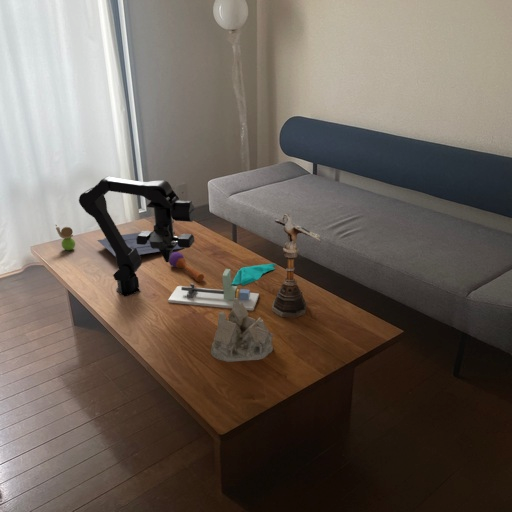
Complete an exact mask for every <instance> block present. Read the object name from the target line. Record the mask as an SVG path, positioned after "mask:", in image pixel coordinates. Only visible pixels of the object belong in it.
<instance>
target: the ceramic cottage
mask: <svg viewBox="0 0 512 512" xmlns="http://www.w3.org/2000/svg"><path fill="white" fill-rule="evenodd" d="M227 318H228V320H227ZM273 338H274V333H272V332H271V331H270V332H269V329H268V327H267V326H266V324H265V323H264V319H262V318H261V317H258V318H257V320H256V318H253V317H250V316H249V312H248V310H246V309H245V307H244V305H243V303H241V304H239V301H238V298H234V302H233V309H232V308H231V311H230V312H229V314H228V316H227V315H226V313H225V311H220V312H219V313H218V319H217V328H216V331H215V333H214V337H213V339H212V340H213V342H212V344H211V348H210V354H211V356H212V357H213V358H215V359H216V360H219V361H223V362H228V363H231V362H232V363H233V362H244V361H245V362H246V361H257V360H258V361H259V360H262V359H265V358H267V357H268V355H269V354H271V353H272V352H273V350H274V348H273V344H272V342H273V341H272V340H273Z"/></svg>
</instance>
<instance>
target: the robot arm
mask: <svg viewBox="0 0 512 512" xmlns="http://www.w3.org/2000/svg"><path fill="white" fill-rule="evenodd" d="M108 192H115V193H121V194H128V195H133V196H140V197H143V198H145V199H146V200H147V201H150V202H149V203H148V204H147V205H146V208H153V214H154V224H153V230H152V231H153V232H152V231H150V230H142V231H141V232H139V233H140V234H139V235H138V236H137V238H136V241H137V244H141V245H145V244H146V243H147V240H149V242H150V245H151V248H153V249H155V248H157V249H159V250H160V251H159V252H160V254H161V255H162V257H163V260H164V262H165V263H169V260H170V257H171V254H172V253H173V248H174V247H175V246H176V245H177V244H178V246H179V247H182V248H181V249H185V248H186V249H188V248H191V246H192V245H193V244H194V242H195V236H194V235H193V234H191V233H182V234H180V236H177V235H175V233H176V231H175V230H174V223H175V222H185V223H186V222H188V223H193V222H194V220H195V217H196V208H195V206H194V204H193V202H192V200H180V197H179V196H178V195H177V194H176V192H175V191H174V189H173V188H172V185H171V184H170V183H169V181H166V180H162V179H161V180H152V181H140V180H139V181H138V180H133V179H126V178H125V179H124V178H120V177H119V178H118V177H114V176H109V175H108V176H105V177H104V178H102V179H100V181H99V182H98V183H97V184H96V185H95V186H94V187H90V188H89V189H88V190H86V191H84V192H83V193H81V194H80V195H79V197H78V203H79V205H80V206H81V207H82V209H83V210H84V212H85V213H87V214H88V215H90V216H91V217H92V218H93V219H94V220H95V221H96V223H97V225H98V226H99V228H100V230H101V231H102V233H103V235H104V238H106V239H107V240H108V242H109V244H110V245H111V247H112V249H113V250H114V252H115V254H116V257H115V261H116V262H115V263H116V266H117V268H118V269H117V270H116V271H115V272H114V274H112V276H113V279H114V280H115V281H116V282H117V288H116V291H117V292H118V293H119V294H120V295H122V296H123V297H128V296H130V295H133V294H135V293H138V292H141V289H140V283H139V277H138V276H137V273H136V272H137V271H138V270H139V268H140V267H141V266H142V263H143V262H142V257H143V256H141V255H139V254H138V251H137V249H136V248H135V249H133V250H132V249H131V248H129V247H128V246H127V244H126V243H125V241H124V239H123V237H122V236H121V235H122V234H121V232H120V230H119V229H118V227H117V225H116V223H115V222H114V220H113V218H112V216H111V215H110V213H109V211H108V206H107V200H106V197H105V195H106V194H107V193H108ZM168 198H169V199H168ZM174 221H175V222H174Z"/></svg>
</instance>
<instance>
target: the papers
mask: <svg viewBox="0 0 512 512" xmlns="http://www.w3.org/2000/svg"><path fill="white" fill-rule="evenodd" d="M152 232H153V230H152ZM140 233H141V232H135V233H126V234H121V236H122V237H123V239H124V241H125V243H126V244H127V246H128V247H129V248H131V249H132V250H133V249H135V248H136V249H137V251H138V254H139V255H140V256H141V255H145V254H151V253H157V252H158V253H159V252H160V250H159V249H157V248H155V249H153V248H151V245H150V242H149V240H147V243H146V244H145V245H141V244H137V241H136V238H137V236H138V235H139V234H140ZM96 241H97V242H99V243H100V244H101V245H102V246H103V247H104V248H105V249H107V250H108V252H110V253H111V254H112V255H113V256H114V257H115V258H116V254H115V252H114V250H113V249H112V247H111V245H110V244H109V242H108V240H107V239H106V237H104V238H103V239H98V240H96ZM180 249H183V248H182V247H179V246H178V244H177V245H176V246H175V247H174V248H173V250H180Z"/></svg>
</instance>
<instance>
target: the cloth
mask: <svg viewBox="0 0 512 512" xmlns="http://www.w3.org/2000/svg"><path fill="white" fill-rule="evenodd" d="M275 266H277V263H267V264H260V265H252V266H245V267H241V268H240V269H238V271H237V272H236V275H235V276H234V278H233V280H232V281H231V286H238V285H241V286H246V285H248V284H251V283H254V282H255V281H258V280H259V279H261V277H262V276H263V275H264V274H266V273H267V272H271V271H273V270H276V268H275Z"/></svg>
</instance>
